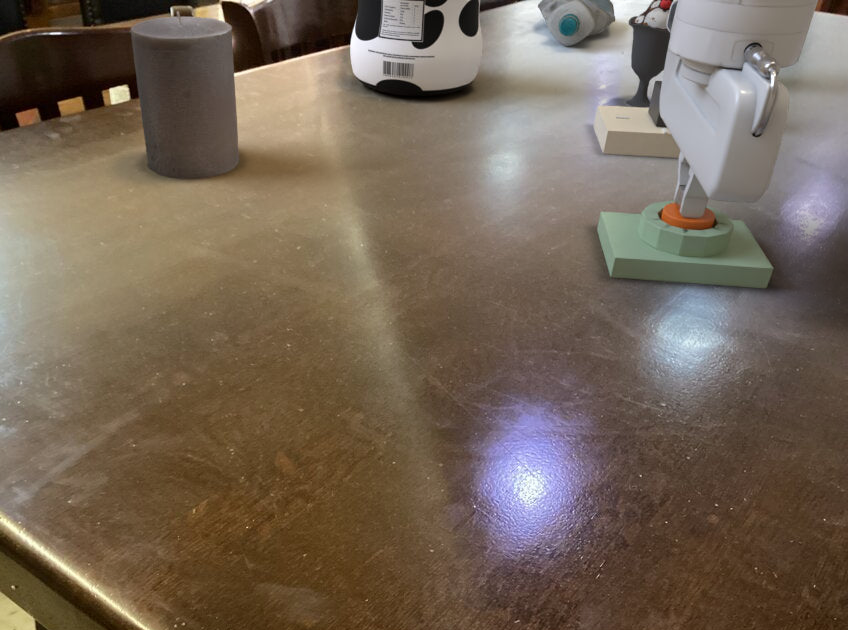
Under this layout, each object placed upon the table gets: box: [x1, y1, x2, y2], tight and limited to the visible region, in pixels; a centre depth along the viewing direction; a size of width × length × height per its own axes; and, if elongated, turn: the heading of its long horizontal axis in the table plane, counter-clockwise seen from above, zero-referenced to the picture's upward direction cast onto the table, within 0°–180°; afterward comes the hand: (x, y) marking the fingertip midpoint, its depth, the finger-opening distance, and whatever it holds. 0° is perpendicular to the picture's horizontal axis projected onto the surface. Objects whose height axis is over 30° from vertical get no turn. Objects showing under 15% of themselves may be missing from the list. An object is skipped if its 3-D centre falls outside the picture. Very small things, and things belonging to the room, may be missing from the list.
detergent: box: [537, 0, 616, 47], centre depth 134 cm, size 13×7×25 cm
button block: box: [596, 200, 774, 289], centre depth 67 cm, size 12×9×4 cm
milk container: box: [349, 0, 484, 97], centre depth 105 cm, size 17×17×18 cm
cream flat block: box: [593, 104, 681, 159], centre depth 91 cm, size 12×9×3 cm
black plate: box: [648, 80, 667, 127], centre depth 89 cm, size 5×1×4 cm, turn 172°
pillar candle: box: [130, 10, 240, 180], centre depth 81 cm, size 10×10×15 cm
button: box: [660, 203, 715, 230], centre depth 67 cm, size 4×4×2 cm
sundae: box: [624, 0, 674, 108], centre depth 99 cm, size 7×7×15 cm
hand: (687, 210), depth 66 cm, fingers closed, pressing on button
